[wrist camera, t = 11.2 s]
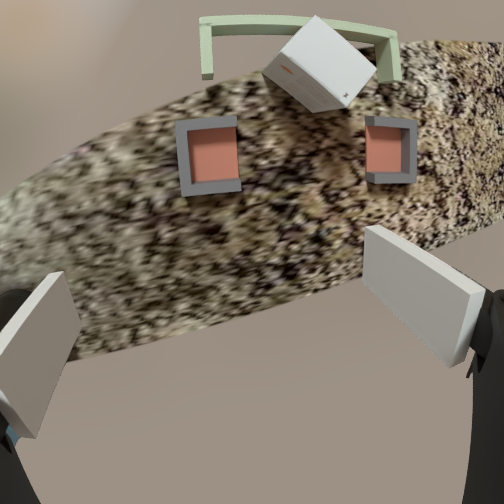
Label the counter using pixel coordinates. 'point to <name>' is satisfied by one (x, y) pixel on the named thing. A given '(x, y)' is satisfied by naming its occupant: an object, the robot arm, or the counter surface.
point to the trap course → (224, 128)
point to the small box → (320, 68)
